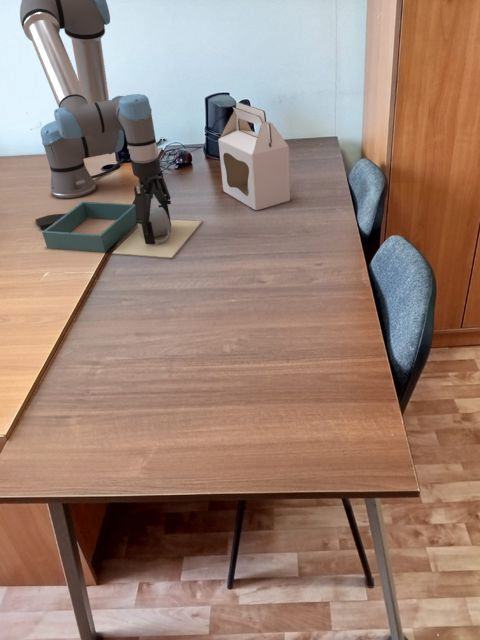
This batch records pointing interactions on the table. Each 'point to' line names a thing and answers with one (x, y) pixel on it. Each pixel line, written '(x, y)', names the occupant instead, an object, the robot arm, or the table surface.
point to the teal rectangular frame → (62, 239)
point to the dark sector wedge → (48, 220)
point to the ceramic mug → (158, 224)
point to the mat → (165, 250)
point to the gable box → (254, 160)
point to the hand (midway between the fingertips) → (158, 234)
